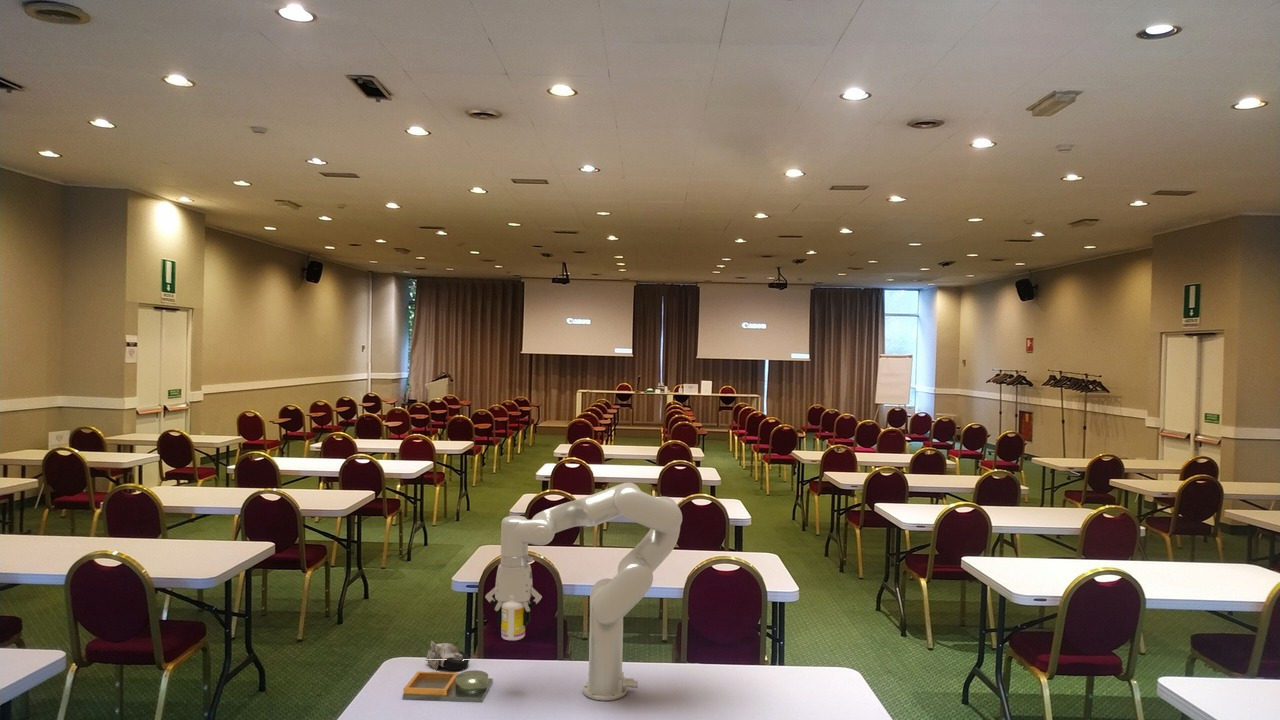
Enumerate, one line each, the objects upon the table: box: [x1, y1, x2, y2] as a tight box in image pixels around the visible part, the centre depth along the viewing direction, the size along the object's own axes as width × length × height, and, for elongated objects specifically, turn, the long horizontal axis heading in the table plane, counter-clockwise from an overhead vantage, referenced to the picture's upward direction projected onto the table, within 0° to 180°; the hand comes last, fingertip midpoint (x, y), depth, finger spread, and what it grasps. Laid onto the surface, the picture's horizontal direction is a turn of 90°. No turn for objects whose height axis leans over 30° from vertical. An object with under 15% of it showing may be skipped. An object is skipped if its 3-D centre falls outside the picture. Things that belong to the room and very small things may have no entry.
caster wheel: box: [425, 640, 470, 672], centre depth 235 cm, size 7×11×10 cm
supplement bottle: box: [500, 595, 526, 641], centre depth 217 cm, size 7×7×13 cm
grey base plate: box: [402, 669, 494, 703], centre depth 218 cm, size 22×13×4 cm, turn 88°
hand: (513, 623), depth 217 cm, fingers closed on supplement bottle, 6 cm apart
